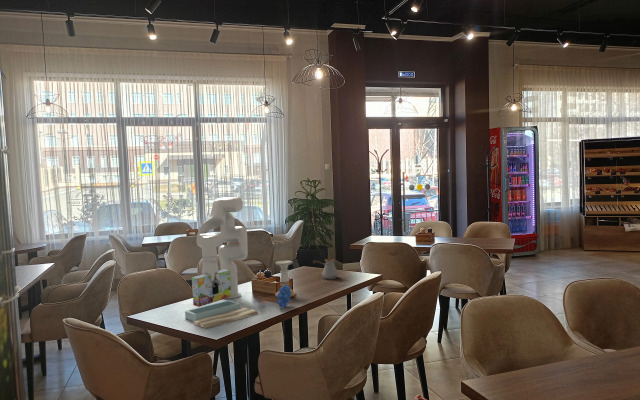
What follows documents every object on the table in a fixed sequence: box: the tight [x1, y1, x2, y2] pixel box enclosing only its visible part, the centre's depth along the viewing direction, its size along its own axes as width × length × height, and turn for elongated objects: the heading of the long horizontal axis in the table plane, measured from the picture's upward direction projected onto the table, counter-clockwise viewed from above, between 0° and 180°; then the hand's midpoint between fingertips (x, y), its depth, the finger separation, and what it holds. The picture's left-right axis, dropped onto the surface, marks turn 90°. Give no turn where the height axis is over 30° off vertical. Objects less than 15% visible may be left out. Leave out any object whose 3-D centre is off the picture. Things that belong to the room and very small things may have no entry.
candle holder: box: [274, 259, 297, 298], centre depth 276 cm, size 12×12×20 cm
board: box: [193, 307, 259, 329], centre depth 233 cm, size 12×30×2 cm, turn 133°
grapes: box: [276, 284, 292, 309], centre depth 250 cm, size 12×7×12 cm, turn 146°
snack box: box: [191, 269, 231, 308], centre depth 243 cm, size 21×6×15 cm, turn 142°
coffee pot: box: [313, 258, 339, 280], centre depth 314 cm, size 21×12×15 cm, turn 137°
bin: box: [184, 299, 241, 323], centre depth 242 cm, size 11×26×4 cm, turn 133°
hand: (212, 292), depth 243 cm, fingers closed on snack box, 6 cm apart
